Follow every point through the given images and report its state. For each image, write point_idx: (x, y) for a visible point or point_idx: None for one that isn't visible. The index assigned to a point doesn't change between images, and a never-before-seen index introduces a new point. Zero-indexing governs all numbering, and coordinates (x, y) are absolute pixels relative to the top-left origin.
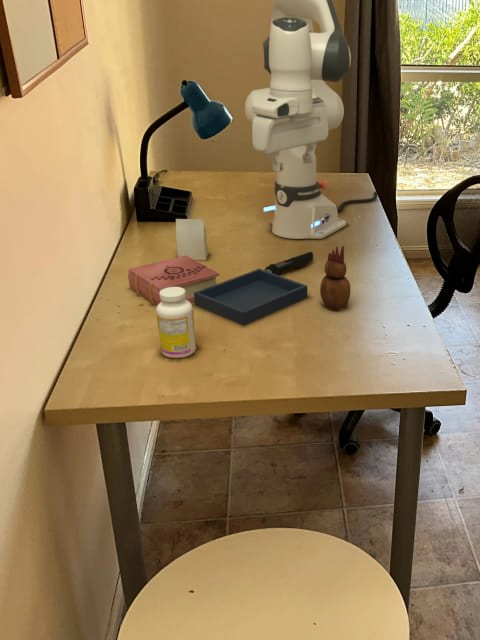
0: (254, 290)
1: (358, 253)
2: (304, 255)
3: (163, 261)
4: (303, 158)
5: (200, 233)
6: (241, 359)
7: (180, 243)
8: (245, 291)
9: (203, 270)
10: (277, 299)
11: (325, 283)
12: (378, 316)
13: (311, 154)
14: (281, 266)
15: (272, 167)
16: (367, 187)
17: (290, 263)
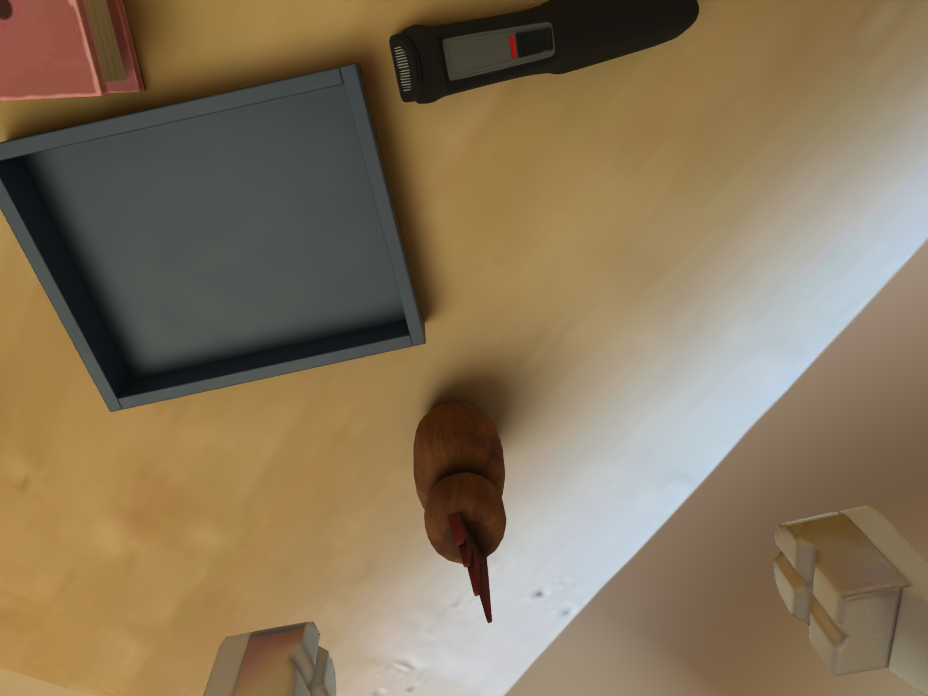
0: (276, 173)
1: (905, 55)
2: (639, 30)
3: None
4: (817, 560)
5: None
6: (54, 541)
7: None
8: (238, 161)
9: (31, 15)
10: (271, 375)
11: (418, 483)
12: (515, 526)
13: (912, 676)
14: (472, 77)
15: (216, 662)
16: None
17: (528, 69)
